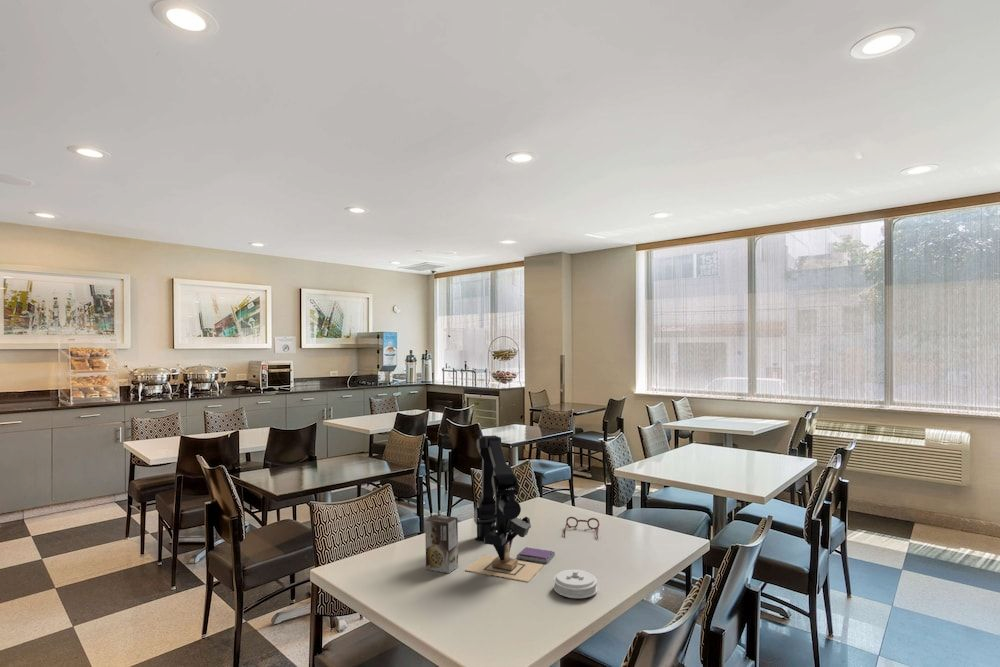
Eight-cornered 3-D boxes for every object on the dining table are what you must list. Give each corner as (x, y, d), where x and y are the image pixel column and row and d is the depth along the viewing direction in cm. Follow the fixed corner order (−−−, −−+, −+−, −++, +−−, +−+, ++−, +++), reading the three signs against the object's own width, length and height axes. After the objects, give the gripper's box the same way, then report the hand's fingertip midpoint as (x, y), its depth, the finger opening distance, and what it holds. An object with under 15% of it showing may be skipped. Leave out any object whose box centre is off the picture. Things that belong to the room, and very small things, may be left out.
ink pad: (516, 558, 182) (516, 554, 182) (525, 550, 189) (525, 546, 189) (547, 563, 177) (547, 558, 177) (554, 555, 185) (554, 550, 185)
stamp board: (464, 570, 172) (464, 569, 172) (484, 555, 185) (484, 554, 185) (528, 582, 163) (528, 580, 163) (543, 565, 176) (543, 564, 176)
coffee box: (458, 566, 175) (458, 517, 176) (449, 574, 170) (448, 522, 170) (435, 562, 179) (435, 514, 180) (424, 569, 173) (424, 519, 174)
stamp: (491, 568, 173) (491, 542, 173) (498, 562, 178) (498, 537, 178) (511, 571, 170) (511, 545, 171) (517, 566, 175) (517, 540, 175)
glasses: (599, 530, 212) (599, 517, 212) (598, 541, 199) (598, 528, 200) (566, 528, 215) (566, 515, 215) (563, 539, 202) (563, 525, 202)
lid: (583, 579, 165) (583, 563, 165) (605, 597, 153) (605, 579, 153) (546, 586, 160) (546, 569, 161) (566, 604, 149) (566, 586, 149)
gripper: (515, 521, 163) (516, 573, 162) (537, 505, 180) (537, 552, 179) (483, 516, 167) (483, 567, 167) (507, 501, 184) (507, 547, 184)
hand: (504, 558), depth 174 cm, fingers closed on stamp, 3 cm apart
